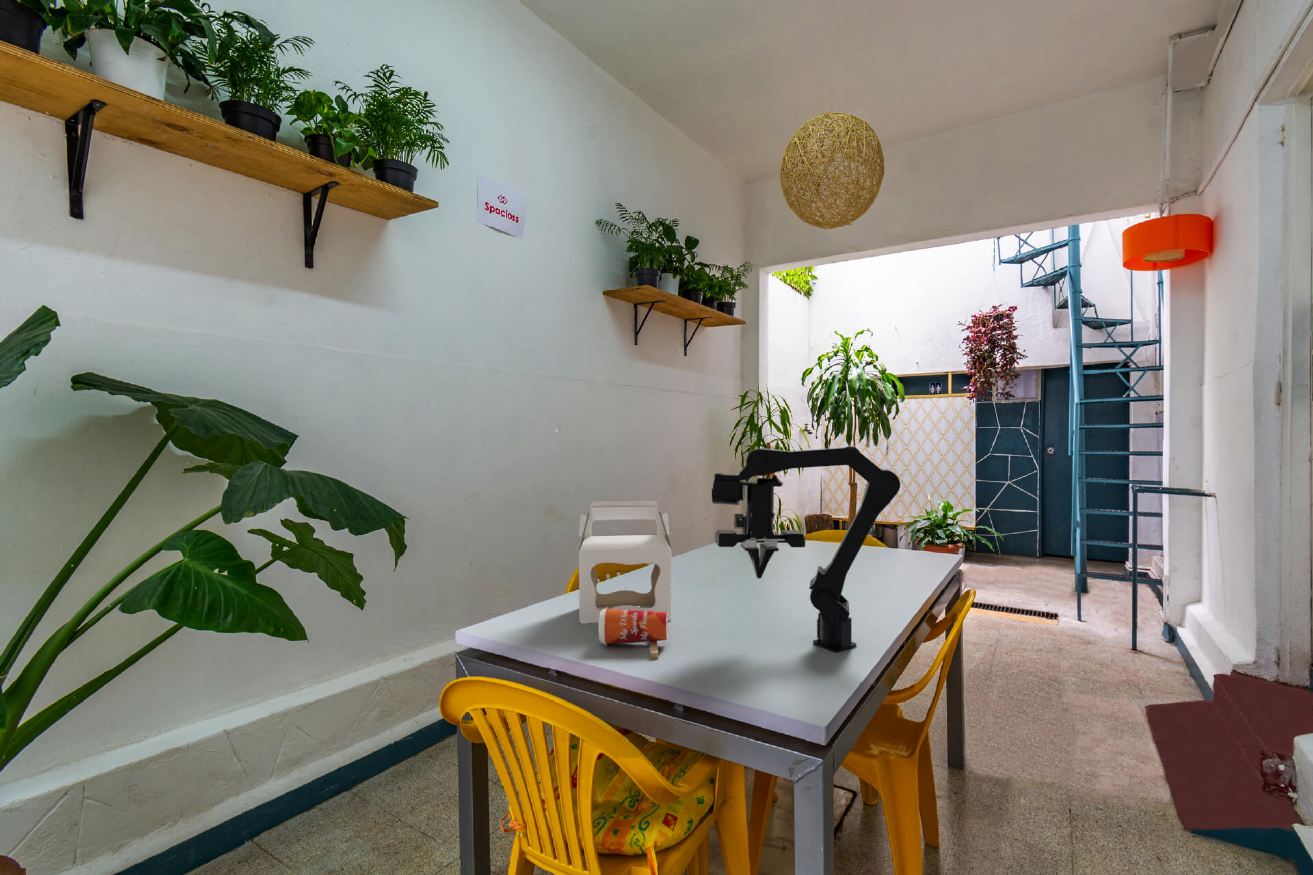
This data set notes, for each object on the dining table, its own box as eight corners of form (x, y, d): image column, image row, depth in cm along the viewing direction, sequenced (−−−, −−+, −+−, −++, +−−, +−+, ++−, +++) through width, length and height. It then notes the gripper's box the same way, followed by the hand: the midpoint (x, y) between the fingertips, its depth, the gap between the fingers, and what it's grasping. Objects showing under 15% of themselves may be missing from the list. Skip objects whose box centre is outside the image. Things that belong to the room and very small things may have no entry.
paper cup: (665, 640, 120) (596, 641, 121) (668, 648, 127) (602, 649, 128) (666, 602, 124) (599, 602, 125) (668, 611, 131) (604, 612, 132)
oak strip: (649, 637, 131) (649, 632, 131) (656, 637, 131) (656, 632, 131) (650, 658, 119) (650, 652, 119) (657, 658, 119) (657, 652, 119)
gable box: (578, 624, 140) (577, 504, 140) (580, 607, 153) (579, 498, 153) (672, 621, 142) (672, 503, 142) (666, 605, 155) (666, 497, 155)
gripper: (792, 501, 139) (790, 569, 139) (711, 501, 137) (710, 569, 138) (806, 508, 127) (805, 581, 128) (719, 507, 126) (718, 581, 127)
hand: (758, 578), depth 130 cm, fingers closed
